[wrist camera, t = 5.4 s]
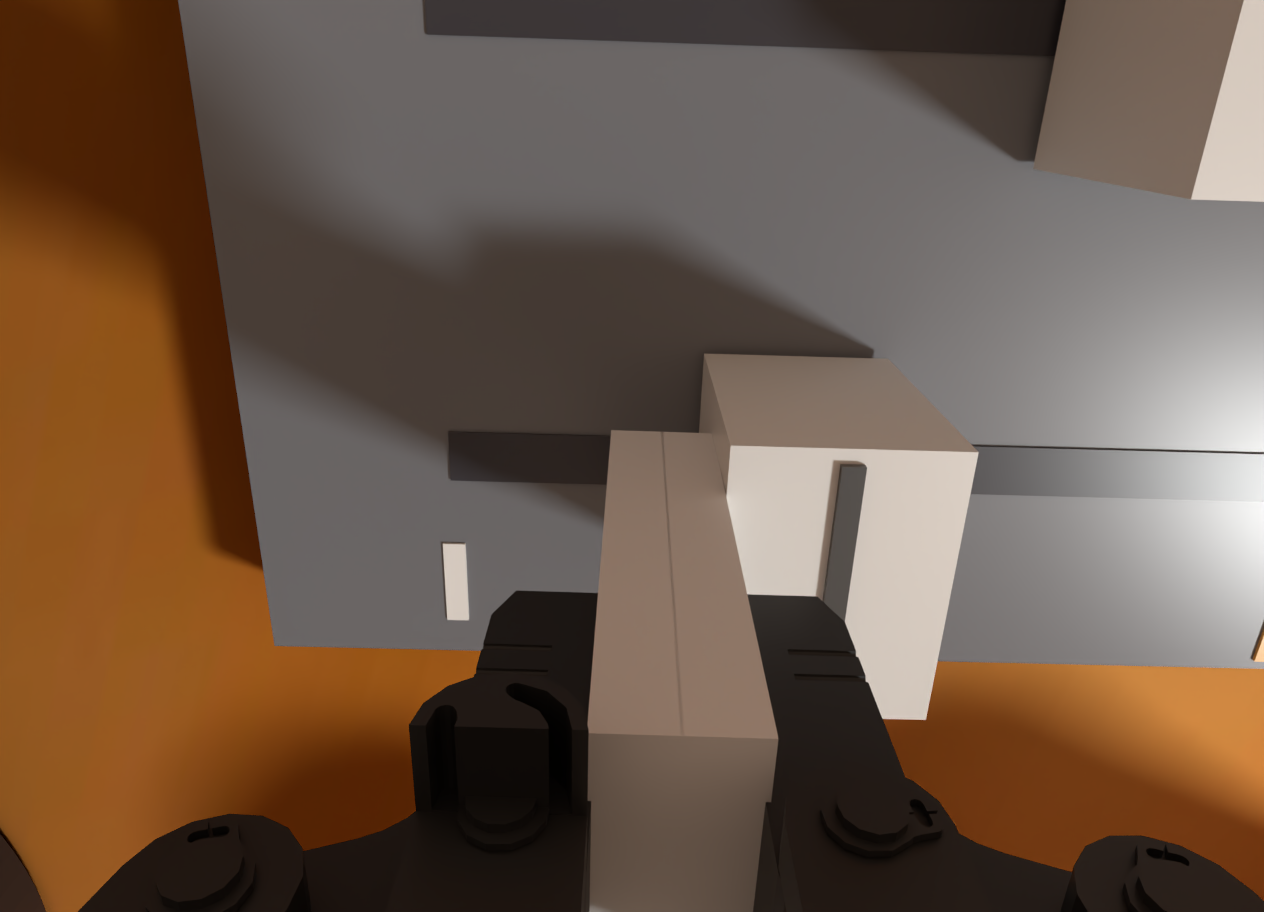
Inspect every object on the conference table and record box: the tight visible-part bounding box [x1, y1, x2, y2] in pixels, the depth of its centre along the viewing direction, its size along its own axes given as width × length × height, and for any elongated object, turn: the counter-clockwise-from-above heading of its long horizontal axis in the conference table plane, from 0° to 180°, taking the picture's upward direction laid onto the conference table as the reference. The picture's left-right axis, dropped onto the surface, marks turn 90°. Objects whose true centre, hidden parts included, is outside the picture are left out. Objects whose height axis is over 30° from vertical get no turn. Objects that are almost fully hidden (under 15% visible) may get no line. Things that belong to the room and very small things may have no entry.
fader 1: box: [699, 354, 979, 720], centre depth 13 cm, size 3×4×4 cm
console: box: [178, 0, 1264, 669], centre depth 15 cm, size 26×15×2 cm, turn 88°
